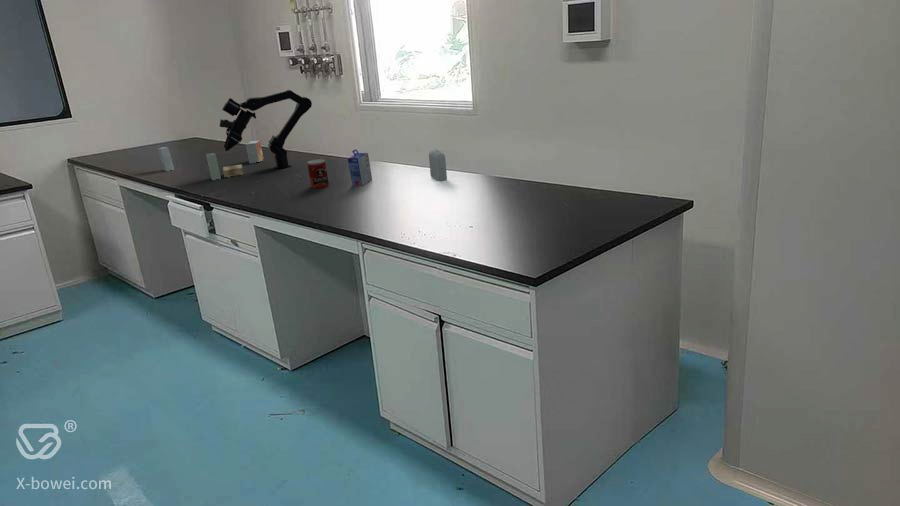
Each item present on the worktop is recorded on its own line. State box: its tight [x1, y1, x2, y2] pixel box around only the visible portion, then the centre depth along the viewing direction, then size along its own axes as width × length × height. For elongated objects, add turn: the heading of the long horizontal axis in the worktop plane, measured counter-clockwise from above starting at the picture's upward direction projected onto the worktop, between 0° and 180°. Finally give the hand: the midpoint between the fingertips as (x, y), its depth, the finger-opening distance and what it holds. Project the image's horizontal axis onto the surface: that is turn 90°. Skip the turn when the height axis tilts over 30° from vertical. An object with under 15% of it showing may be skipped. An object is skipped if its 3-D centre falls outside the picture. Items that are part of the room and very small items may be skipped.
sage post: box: [205, 152, 222, 181], centre depth 303 cm, size 4×5×12 cm
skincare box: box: [157, 146, 175, 172], centre depth 334 cm, size 6×4×12 cm
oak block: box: [222, 164, 244, 178], centre depth 310 cm, size 9×9×4 cm
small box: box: [245, 140, 264, 164], centre depth 336 cm, size 8×6×10 cm
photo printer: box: [428, 149, 448, 182], centre depth 266 cm, size 10×4×12 cm, turn 25°
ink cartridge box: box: [347, 149, 373, 187], centre depth 270 cm, size 10×6×14 cm, turn 161°
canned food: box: [307, 158, 329, 189], centre depth 272 cm, size 8×8×11 cm
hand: (225, 149), depth 305 cm, fingers open, 9 cm apart
